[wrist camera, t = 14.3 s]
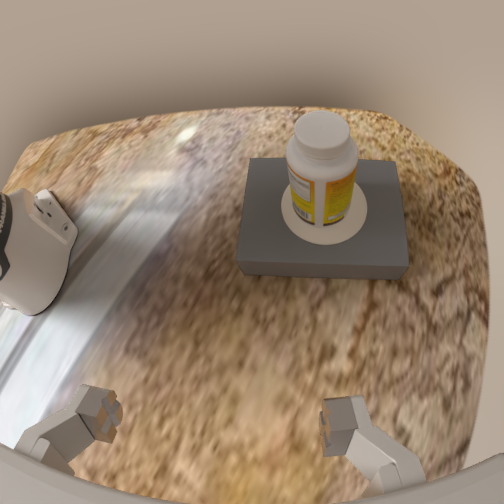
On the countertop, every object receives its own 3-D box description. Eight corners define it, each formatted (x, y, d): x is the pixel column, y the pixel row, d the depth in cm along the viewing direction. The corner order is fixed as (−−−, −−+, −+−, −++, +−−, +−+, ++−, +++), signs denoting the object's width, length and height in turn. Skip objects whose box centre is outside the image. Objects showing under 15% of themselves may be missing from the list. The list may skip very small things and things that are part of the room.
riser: (244, 274, 32) (235, 259, 28) (256, 179, 36) (249, 157, 33) (398, 279, 29) (410, 265, 25) (388, 182, 33) (395, 160, 29)
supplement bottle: (352, 186, 29) (364, 109, 20) (345, 235, 27) (359, 163, 18) (298, 177, 30) (291, 99, 21) (286, 224, 29) (273, 150, 19)
